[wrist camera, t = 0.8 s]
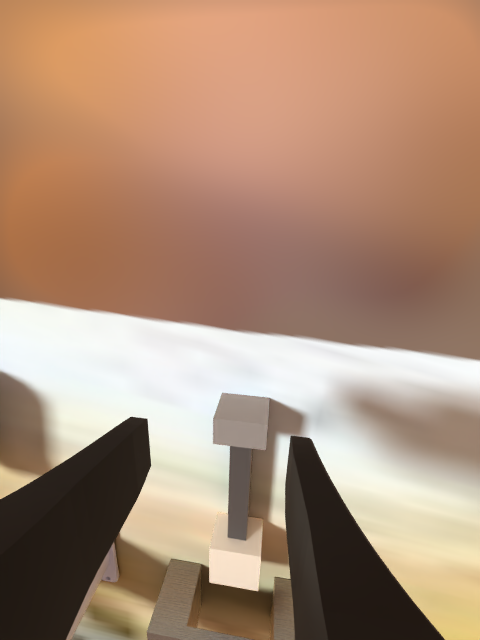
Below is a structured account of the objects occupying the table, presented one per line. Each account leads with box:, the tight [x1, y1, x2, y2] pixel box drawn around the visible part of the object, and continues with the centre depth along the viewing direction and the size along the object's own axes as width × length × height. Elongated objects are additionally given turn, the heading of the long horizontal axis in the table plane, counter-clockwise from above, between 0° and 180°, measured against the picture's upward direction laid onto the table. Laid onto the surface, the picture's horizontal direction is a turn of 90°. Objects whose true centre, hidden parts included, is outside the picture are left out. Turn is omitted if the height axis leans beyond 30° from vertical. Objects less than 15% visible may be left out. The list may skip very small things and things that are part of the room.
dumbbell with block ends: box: [209, 393, 270, 591], centre depth 22 cm, size 4×16×3 cm, turn 178°
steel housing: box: [147, 559, 295, 640], centre depth 25 cm, size 13×6×5 cm, turn 88°
